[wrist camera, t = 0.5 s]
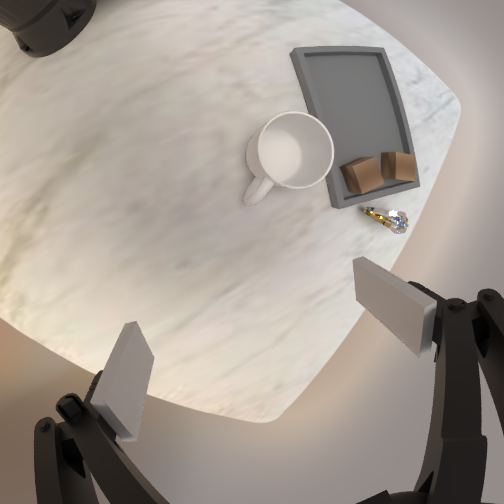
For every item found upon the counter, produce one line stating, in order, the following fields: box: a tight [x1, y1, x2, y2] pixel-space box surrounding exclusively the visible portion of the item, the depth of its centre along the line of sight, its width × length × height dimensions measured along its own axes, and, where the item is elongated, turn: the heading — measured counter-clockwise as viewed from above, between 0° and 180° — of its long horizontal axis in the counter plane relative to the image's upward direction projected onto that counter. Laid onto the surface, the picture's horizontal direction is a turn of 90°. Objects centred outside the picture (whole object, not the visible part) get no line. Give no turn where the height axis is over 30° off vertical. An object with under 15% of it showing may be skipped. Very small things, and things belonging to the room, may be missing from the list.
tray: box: [290, 46, 420, 209], centre depth 35 cm, size 24×16×2 cm, turn 15°
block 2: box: [381, 152, 415, 181], centre depth 36 cm, size 4×4×4 cm
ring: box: [363, 206, 408, 234], centre depth 37 cm, size 7×3×8 cm, turn 68°
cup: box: [243, 111, 334, 206], centre depth 32 cm, size 8×12×10 cm
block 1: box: [340, 157, 384, 194], centre depth 36 cm, size 4×4×4 cm
